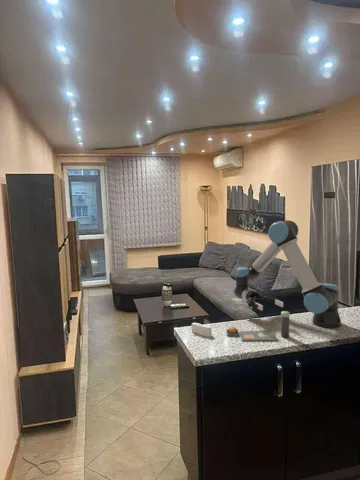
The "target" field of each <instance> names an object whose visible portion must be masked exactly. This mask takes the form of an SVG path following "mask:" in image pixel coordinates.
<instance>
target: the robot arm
mask: <svg viewBox="0 0 360 480" xmlns="http://www.w3.org/2000/svg"><path fill="white" fill-rule="evenodd" d="M267 235H268V238H269V240H270V241H271V242H270V244H269V245H268V246H267V247H266V248H265V249H264V250H263V252H262V253H260V255H259V256H258V257H257V258H256V260H255V261H254V262H253V263H252V265H250V267H249V268H248V267H244V266H241V267H239V266H238V267H237V268H236V272H235V279H236V280H235V286H234V287H233V289H232V293H233V295H234V296H235V297H237V298H238V299H241V300H243V301H245V303H246V304H247V305H248V307H249V308H252V309H258V310H259V311H264V305H262V304H261V303H263V304H264V303H268V304H274V305H276V306H278V307H281V308H284V302H283V301H281V300H280V298H279V297H273V296H269V295H260V294H259V293H258V292H257V291H255V290H252V289H250V288H249V282H250V281H253V280H255V279H258V278H260V276H261V274H262V272H263V271H264V270H265V269H266V268H267V267H268V265H270V263H271V262H272V261H273V260H274V259H275V258H276V257H277V256H278V255H279V253H281V251H282V252H283V253H284V256H285V257H286V259H287V261H288V263H289V265H290V267H291V269H292V270H293V273H294V275H295V277H296V279H297V280H298V283H299V284H300V286H301V288H302V290H301V294H302V296H303V306H304V307H305V309H306V310H308V312H310V313H312V314H313V315H312V319H311V320H312V321H311V322H312V324H314V325H315V326H317V327H320V328H325V329H326V328H327V329H334V328H336V329H337V328H340V327H341V326H342V320H341V317H340V313H339V287H338V285H337V284H332V283H325V282H324V283H323V282H318V280H317V279H316V277H315V275H314V272H313V271H312V269H311V267H310V265H309V263H308V261H307V259H306V258H305V256H304V254H303V252H302V250H301V248H300V246H299V245H298V237H297V236H298V235H299V226H298V224H297V223H296V222H294V221H292V220H288V219H287V220H281V221H280V220H278V221H276V222H274V223H272V224H271V225H270V226H269V228H268V232H267Z"/></svg>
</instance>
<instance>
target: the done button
mask: <svg viewBox="0 0 360 480" xmlns="http://www.w3.org/2000/svg"><path fill="white" fill-rule="evenodd" d="M228 329H229V332H228V333H237V332H236V329H237V327H235V326H229V327H228Z"/></svg>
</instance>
